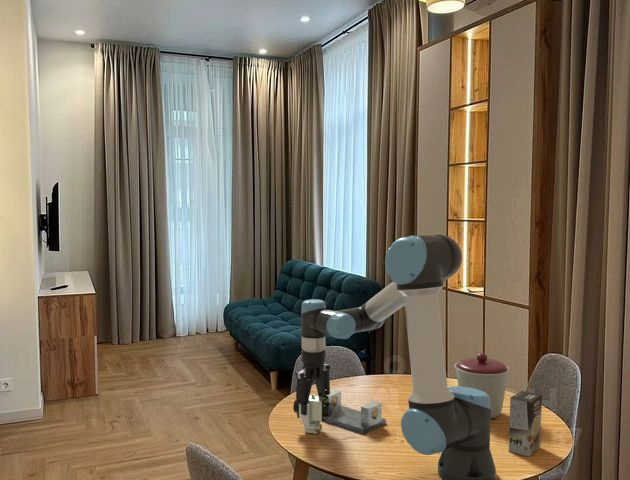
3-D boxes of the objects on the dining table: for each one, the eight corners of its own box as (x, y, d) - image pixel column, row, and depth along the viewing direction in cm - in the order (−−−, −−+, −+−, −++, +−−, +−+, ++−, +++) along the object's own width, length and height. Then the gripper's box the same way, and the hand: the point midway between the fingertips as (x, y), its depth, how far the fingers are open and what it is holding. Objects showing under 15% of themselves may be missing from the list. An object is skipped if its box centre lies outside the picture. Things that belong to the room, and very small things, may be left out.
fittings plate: (386, 423, 196) (386, 401, 196) (363, 434, 188) (363, 410, 187) (338, 408, 210) (338, 388, 209) (315, 418, 201) (315, 396, 200)
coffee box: (529, 457, 171) (531, 402, 170) (508, 451, 175) (509, 397, 174) (540, 447, 178) (542, 394, 177) (519, 441, 182) (521, 389, 181)
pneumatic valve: (327, 437, 185) (327, 399, 184) (293, 432, 189) (293, 394, 189) (333, 431, 190) (334, 393, 189) (299, 426, 194) (299, 389, 194)
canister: (490, 402, 216) (491, 345, 215) (519, 421, 199) (521, 358, 197) (444, 407, 212) (445, 348, 210) (470, 426, 194) (471, 362, 193)
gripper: (324, 341, 197) (324, 410, 199) (283, 353, 183) (283, 426, 185) (342, 345, 192) (341, 416, 194) (301, 357, 178) (301, 433, 180)
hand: (313, 421), depth 189 cm, fingers closed on pneumatic valve, 6 cm apart
